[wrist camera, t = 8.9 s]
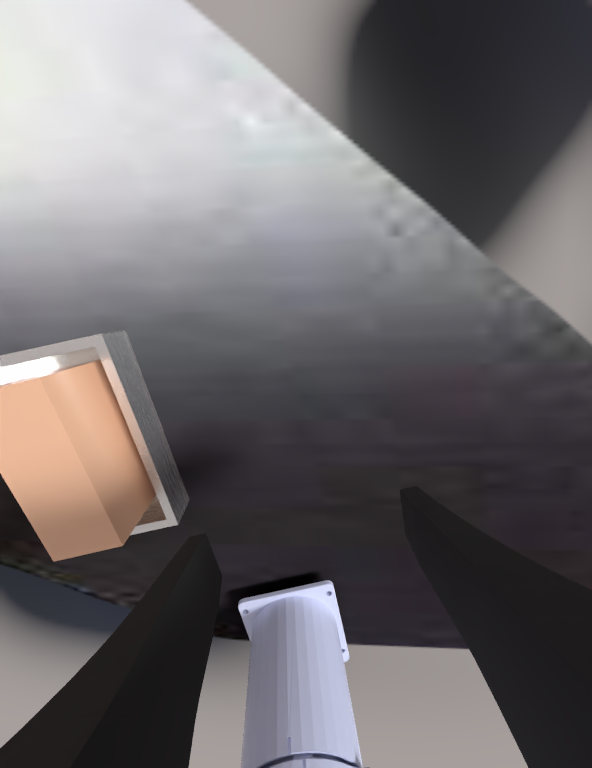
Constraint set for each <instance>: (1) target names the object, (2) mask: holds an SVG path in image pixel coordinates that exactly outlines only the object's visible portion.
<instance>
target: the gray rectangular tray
mask: <svg viewBox="0 0 592 768" xmlns="http://www.w3.org/2000/svg"><path fill="white" fill-rule="evenodd" d="M96 360H101V362H102V364H103V367H104V369H105V372H106V374H107V377H108V379H109V381H110V384H111V386H112V389H113V391H114V393H115V396H116V398H117V401H118V403H119V406H120V408H121V410H122V413H123V415H124V418H125V420H126V422H127V425H128V427H129V430H130V432H131V435H132V437H133V439H134V442H135V444H136V447H137V449H138V451H139V454H140V456H141V459H142V461H143V464H144V466H145V468H146V471H147V473H148V476H149V478H150V480H151V483H152V485H153V488H154V490H155V493H156V496H155V497H154V499H153V500H152V502H151V503H150V505H149V507H148V508H147V510H146V511H145V513H144V514H143V516H142V517H141V519H140V520H139V522H138V523H137V525H136V526H135V528H134V529H133V531H132V533H131V534H130V535H133V534H138V533H142V532H147V531H151V530H156V529H161V528H165V527H170V526H174V525H178V524H179V522H180V520H181V517H182V515H183V513H184V511H185V509H186V507H187V504H188V502H189V497H188V495H187V492H186V489H185V487H184V484H183V481H182V479H181V476H180V473H179V471H178V468H177V465H176V463H175V460H174V457H173V455H172V452H171V450H170V447H169V444H168V442H167V439H166V436H165V434H164V431H163V428H162V426H161V423H160V420H159V418H158V415H157V412H156V410H155V407H154V404H153V402H152V399H151V396H150V394H149V391H148V388H147V386H146V383H145V380H144V378H143V375H142V372H141V370H140V367H139V364H138V362H137V359H136V357H135V354H134V351H133V349H132V346H131V343H130V341H129V338H128V335H127V333H126V330H123V331H116V332H109V333H102V334H97V335H93V336H88V337H84V338H79V339H74V340H70V341H65V342H61V343H56V344H51V345H47V346H42V347H38V348H33V349H28V350H24V351H19V352H15V353H10V354H5V355H1V356H0V385H1V384H4V383H8V382H12V381H15V380H19V379H22V378H26V377H30V376H33V375H37V374H40V373H44V372H48V371H53V370H57V369H61V368H66V367H70V366H75V365H79V364H83V363H88V362H92V361H96Z"/></svg>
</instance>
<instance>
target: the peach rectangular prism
mask: <svg viewBox="0 0 592 768" xmlns="http://www.w3.org/2000/svg"><path fill="white" fill-rule="evenodd" d="M0 473H1V475H2V477H3V478H4V480H5V482H6V483H7V485H8V487H9V488H10V490H11V492H12V493H13V495H14V497H15V498H16V500H17V502H18V503H19V505H20V507H21V508H22V510H23V512H24V513H25V515H26V517H27V518H28V520H29V522H30V523H31V525H32V527H33V528H34V530H35V532H36V533H37V535H38V537H39V538H40V540H41V542H42V543H43V545H44V547H45V548H46V550H47V552H48V553H49V555H50V557H51V558H52V560H53V562H54V561H59V560H63V559H67V558H72V557H76V556H80V555H85V554H89V553H94V552H98V551H102V550H107V549H111V548H116V547H120V546H123V545H124V543H125V542H126V540H127V539H128V537H129V536H130V534H131V533H132V531H133V529H134V528H135V526H136V525H137V523H138V522H139V520H140V519H141V517H142V516H143V514H144V513H145V511H146V510H147V508H148V507H149V505H150V503H151V502H152V500H153V499H154V497H155V496H156V493H155V490H154V488H153V485H152V483H151V480H150V478H149V476H148V473H147V471H146V468H145V466H144V464H143V461H142V459H141V456H140V454H139V451H138V449H137V447H136V444H135V442H134V439H133V437H132V435H131V432H130V430H129V427H128V425H127V422H126V420H125V418H124V415H123V413H122V410H121V408H120V406H119V403H118V401H117V398H116V396H115V393H114V391H113V389H112V386H111V384H110V381H109V379H108V377H107V374H106V372H105V369H104V367H103V364H102V362H101V360H96V361H92V362H88V363H83V364H79V365H75V366H70V367H66V368H61V369H57V370H53V371H48V372H44V373H40V374H37V375H33V376H30V377H26V378H22V379H19V380H15V381H12V382H8V383H4V384H1V385H0Z"/></svg>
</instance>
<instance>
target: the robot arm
mask: <svg viewBox="0 0 592 768" xmlns="http://www.w3.org/2000/svg"><path fill="white" fill-rule="evenodd" d="M400 495H401V503H402V510H403V518H404V526H405V534H406V537H407V539H408V541H409V543H410V545H411V548H412V550H413V552H414V554H415V556H416V558H417V560H418V562H419V564H420V566H421V568H422V570H423V571H424V573H425V575H426V576H427V578H428V580H429V582H430V583H431V585H432V587H433V588H434V590H435V592H436V593H437V595H438V597H439V598H440V600H441V602H442V603H443V605H444V607H445V608H446V610H447V612H448V613H449V615H450V617H451V618H452V620H453V622H454V624H455V625H456V627H457V629H458V630H459V632H460V634H461V635H462V637H463V639H464V640H465V642H466V644H467V646H468V648H469V649H470V651H471V653H472V655H473V657H474V658H475V660H476V662H477V664H478V666H479V668H480V670H481V672H482V674H483V676H484V678H485V680H486V682H487V684H488V686H489V688H490V690H491V692H492V694H493V696H494V698H495V700H496V702H497V704H498V706H499V708H500V710H501V712H502V714H503V716H504V718H505V720H506V722H507V724H508V726H509V728H510V731H511V733H512V735H513V737H514V739H515V741H516V743H517V745H518V747H519V749H520V751H521V753H522V755H523V757H524V759H525V761H526V763H527V765H528V768H592V590H590V589H588V588H586V587H584V586H582V585H580V584H578V583H575V582H573V581H571V580H569V579H567V578H565V577H563V576H561V575H559V574H557V573H555V572H553V571H551V570H549V569H547V568H546V567H544V566H542V565H540V564H538V563H536V562H534V561H532V560H530V559H529V558H527V557H525V556H523V555H521V554H519V553H518V552H516V551H514V550H512V549H510V548H509V547H507V546H505V545H504V544H502V543H500V542H499V541H497V540H495V539H494V538H492V537H490V536H489V535H487V534H486V533H484V532H482V531H481V530H479V529H478V528H476V527H475V526H473V525H472V524H470V523H469V522H467V521H466V520H464V519H463V518H461V517H460V516H458V515H457V514H455V513H454V512H452V511H451V510H449V509H448V508H447V507H445V506H444V505H442V504H441V503H439V502H438V501H437V500H435V499H434V498H432V497H431V496H430V495H428V494H427V493H425V492H424V491H423V490H421V489H420V488H418V487H417V486H415V487H410V488H406V489H402V490H400ZM221 581H222V575H221V572H220V569H219V567H218V564H217V561H216V559H215V556H214V553H213V551H212V548H211V546H210V543H209V540H208V538H207V535H206V533H205V534H200V535H196V536H192V537H189V538H188V539H187V541H186V542H185V543H184V544H183V546H182V547H181V548H180V550H179V551H178V552H177V554H176V555H175V556H174V558H173V559H172V560H171V562H170V563H169V564H168V565H167V567H166V568H165V569H164V571H163V572H162V573H161V575H160V576H159V577H158V578H157V580H156V581H155V582H154V584H153V585H152V586H151V588H150V589H149V590H148V591H147V593H146V594H145V595H144V596H143V598H142V599H141V600H140V601H139V603H138V604H137V605H136V606H135V607H134V609H133V610H132V611H131V612H130V614H129V615H128V616H127V617H126V618H125V620H124V621H123V622H122V623H121V624H120V626H119V627H118V628H117V629H116V631H115V632H114V633H113V634H112V635H111V636H110V637H109V638H108V640H107V641H106V642H105V643H104V644H103V645H102V646H101V648H100V649H99V650H98V651H97V652H96V653H95V654H94V655H93V656H92V657H91V658H90V659H89V661H88V662H87V663H86V664H85V665H84V666H83V667H82V668H81V669H80V670H79V671H78V672H77V674H76V675H75V676H74V677H73V678H72V679H71V680H70V681H69V682H68V683H67V684H66V685H65V686H64V687H63V688H62V689H61V690H60V691H59V692H58V693H57V694H56V695H55V696H54V697H53V698H52V699H51V700H50V701H49V702H48V703H47V704H46V705H45V706H44V707H43V708H42V709H41V710H40V711H39V712H38V713H37V714H36V715H35V716H34V717H33V718H32V719H31V720H30V721H29V722H28V723H27V724H26V725H25V726H24V727H23V728H22V729H21V730H19V731H18V732H17V734H15V735H14V736H13V737H12V738H11V739H10V740H9V741H8V742H7V743H6V744H5V745H4V746H2V747H1V748H0V768H188V766H189V760H190V753H191V746H192V738H193V732H194V724H195V719H196V713H197V708H198V702H199V697H200V693H201V688H202V683H203V679H204V674H205V669H206V665H207V661H208V656H209V651H210V647H211V642H212V638H213V633H214V628H215V623H216V619H217V614H218V608H219V600H220V591H221ZM238 609H239V612H240V614H241V617H242V620H243V623H244V625H245V628H246V631H247V634H248V636H249V639H250V642H251V652H250V663H249V676H248V687H247V699H246V711H245V724H244V735H243V747H242V760H241V768H363V764H362V759H361V753H360V748H359V743H358V737H357V732H356V726H355V721H354V715H353V710H352V704H351V699H350V693H349V688H348V682H347V677H346V671H345V666H344V662H346V661H347V660H348V659H349V653H348V648H347V644H346V639H345V635H344V630H343V626H342V621H341V617H340V613H339V608H338V604H337V599H336V595H335V590H334V586H333V583H332V582H331V581H329V580H326V581H321V582H316V583H312V584H307V585H303V586H298V587H294V588H289V589H284V590H280V591H275V592H271V593H266V594H261V595H257V596H252V597H248V598H243V599H241V600H240V601H239V603H238ZM365 768H368V767H365Z"/></svg>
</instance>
